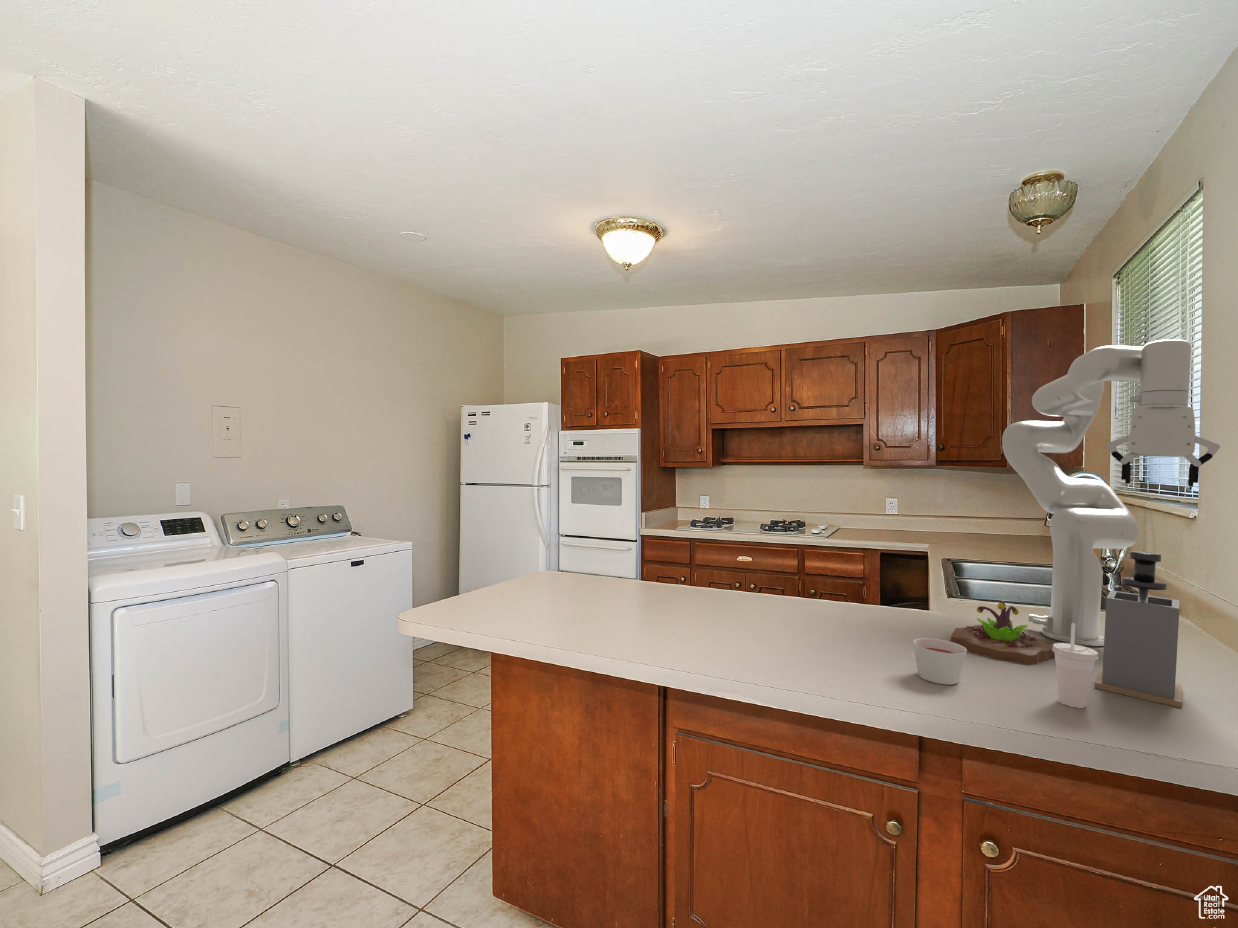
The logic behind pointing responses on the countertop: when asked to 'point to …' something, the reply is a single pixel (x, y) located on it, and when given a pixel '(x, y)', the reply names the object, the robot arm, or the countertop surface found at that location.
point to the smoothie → (1074, 671)
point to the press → (1141, 648)
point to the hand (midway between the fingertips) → (1158, 484)
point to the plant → (1003, 639)
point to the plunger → (1144, 574)
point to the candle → (939, 660)
